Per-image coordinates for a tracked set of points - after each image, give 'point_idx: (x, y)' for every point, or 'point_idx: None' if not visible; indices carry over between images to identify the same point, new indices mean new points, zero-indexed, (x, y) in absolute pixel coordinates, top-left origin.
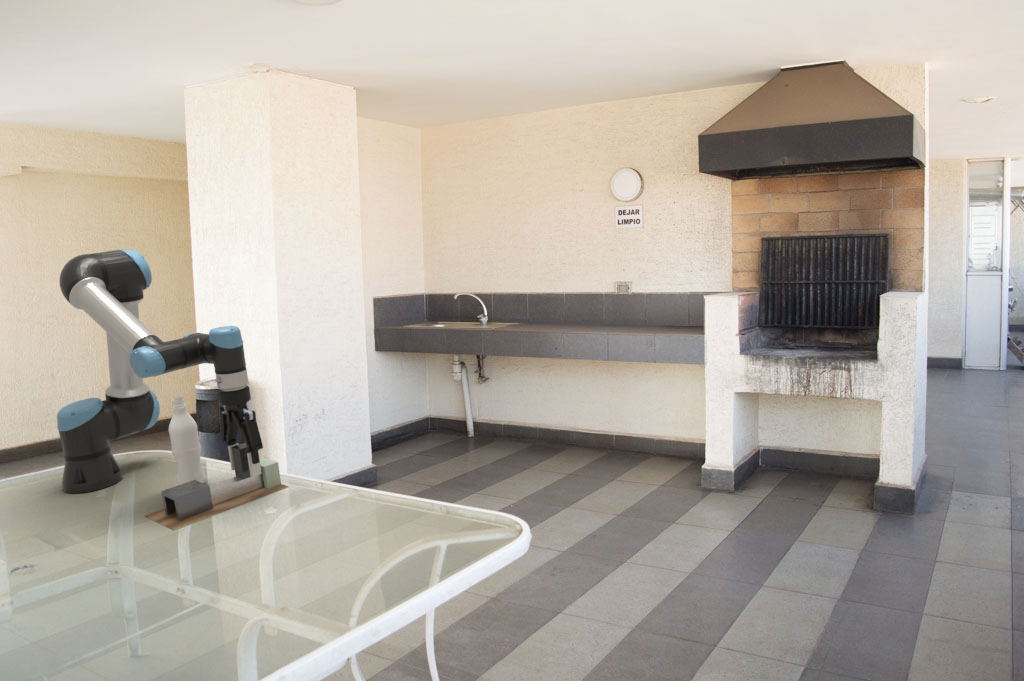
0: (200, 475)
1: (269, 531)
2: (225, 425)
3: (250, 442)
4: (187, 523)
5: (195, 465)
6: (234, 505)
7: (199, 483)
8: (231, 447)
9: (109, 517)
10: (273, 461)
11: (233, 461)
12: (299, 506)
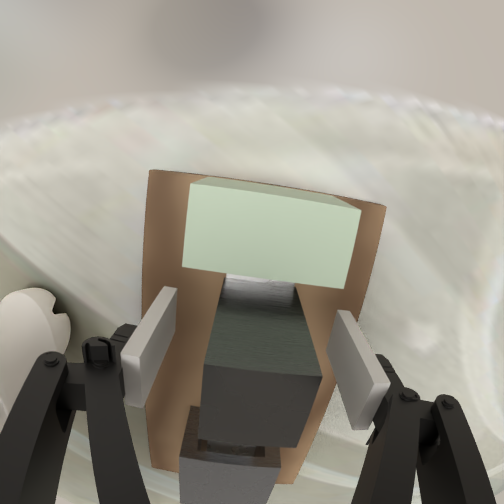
0: (53, 336)
1: (473, 391)
2: (52, 487)
3: (419, 471)
4: (291, 466)
5: (32, 363)
6: (321, 384)
7: (228, 468)
8: (200, 437)
9: (84, 458)
10: (327, 211)
11: (165, 344)
12: (477, 285)
